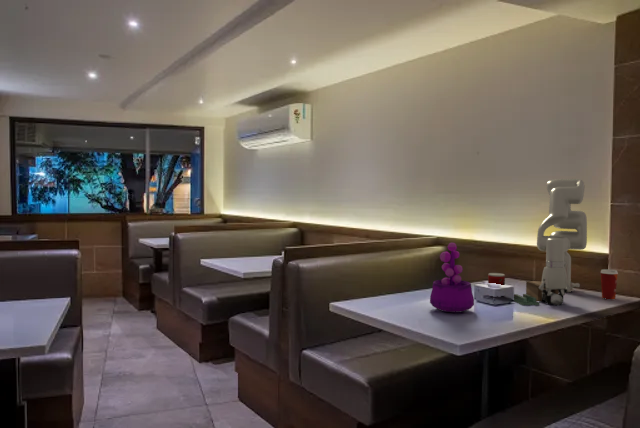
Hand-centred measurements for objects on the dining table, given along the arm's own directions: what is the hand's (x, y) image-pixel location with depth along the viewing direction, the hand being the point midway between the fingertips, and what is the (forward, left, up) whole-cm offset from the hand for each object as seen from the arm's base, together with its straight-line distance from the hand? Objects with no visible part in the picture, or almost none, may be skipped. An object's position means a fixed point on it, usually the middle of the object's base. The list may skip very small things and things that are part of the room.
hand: (554, 303), depth 232 cm
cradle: (+12, -4, 0) cm, 13 cm away
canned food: (+19, -20, -1) cm, 28 cm away
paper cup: (-33, -10, -1) cm, 35 cm away
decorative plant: (+52, +11, -1) cm, 53 cm away
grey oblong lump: (0, -5, -1) cm, 5 cm away
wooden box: (0, -11, 0) cm, 11 cm away
